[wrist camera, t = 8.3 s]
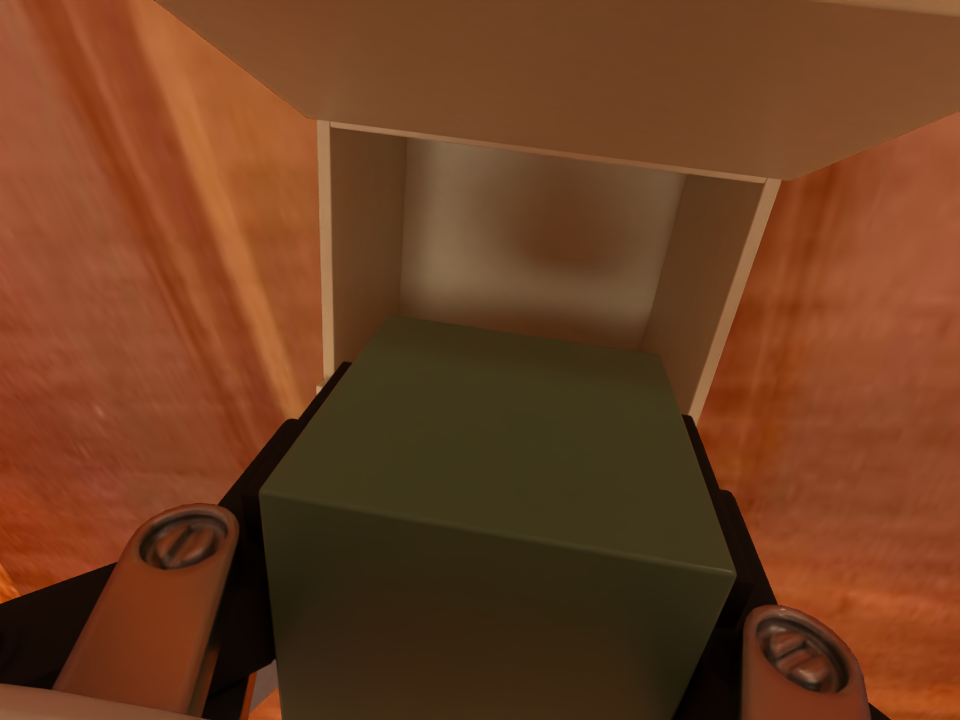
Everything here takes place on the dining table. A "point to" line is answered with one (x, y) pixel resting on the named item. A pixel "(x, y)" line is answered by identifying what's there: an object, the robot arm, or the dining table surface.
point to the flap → (609, 72)
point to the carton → (533, 246)
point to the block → (491, 535)
